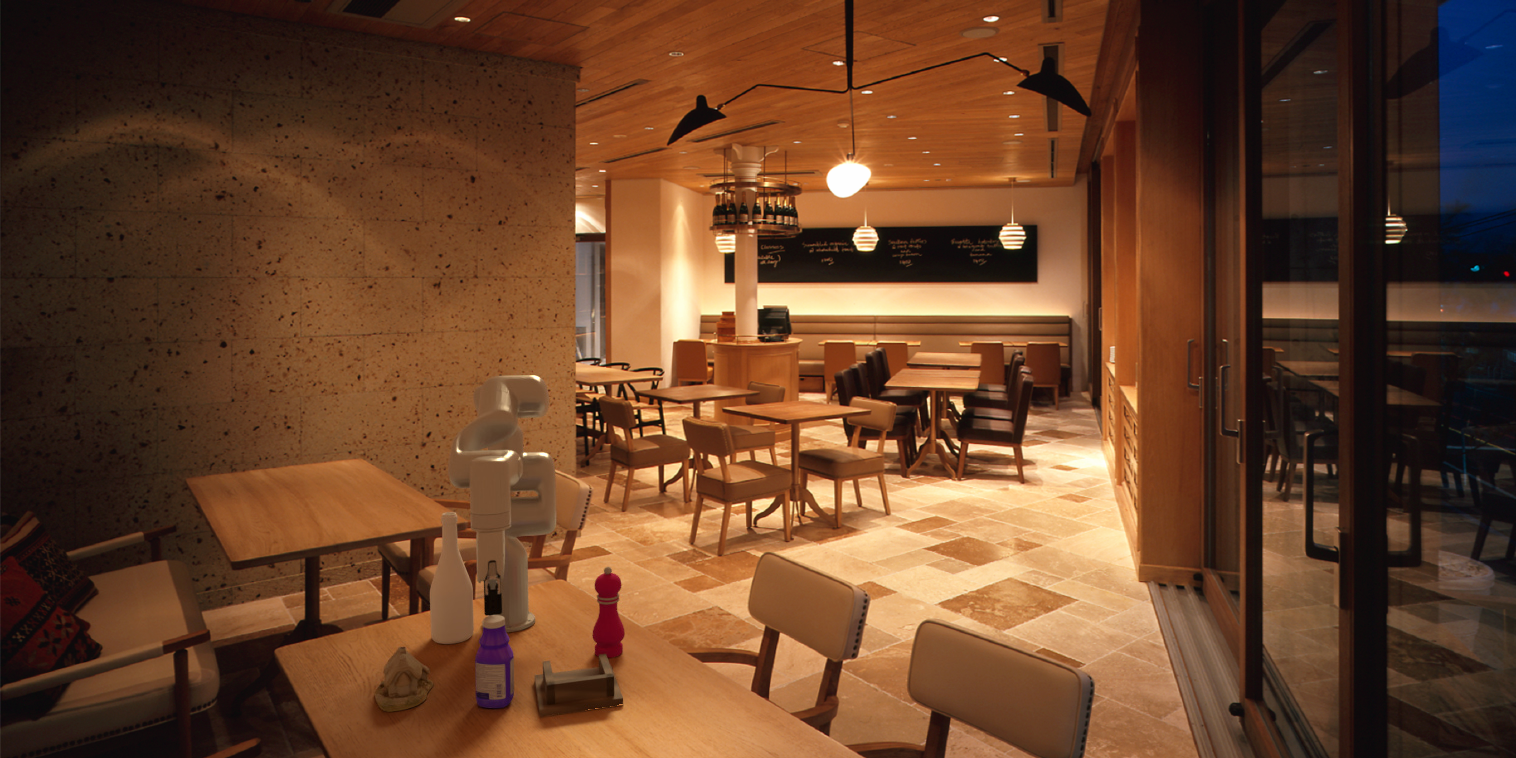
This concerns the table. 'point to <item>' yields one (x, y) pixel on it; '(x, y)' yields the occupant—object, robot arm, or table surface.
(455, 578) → the wine bottle
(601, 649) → the pepper mill
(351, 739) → the table surface
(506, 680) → the bottle
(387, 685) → the ceramic model
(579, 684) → the bottle rest
